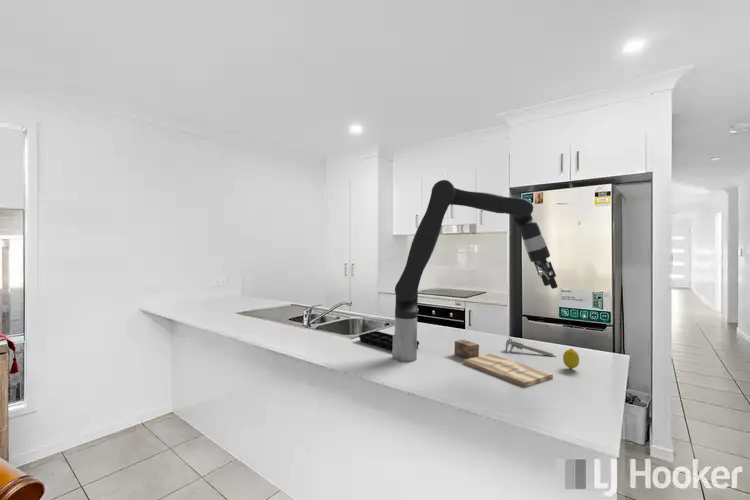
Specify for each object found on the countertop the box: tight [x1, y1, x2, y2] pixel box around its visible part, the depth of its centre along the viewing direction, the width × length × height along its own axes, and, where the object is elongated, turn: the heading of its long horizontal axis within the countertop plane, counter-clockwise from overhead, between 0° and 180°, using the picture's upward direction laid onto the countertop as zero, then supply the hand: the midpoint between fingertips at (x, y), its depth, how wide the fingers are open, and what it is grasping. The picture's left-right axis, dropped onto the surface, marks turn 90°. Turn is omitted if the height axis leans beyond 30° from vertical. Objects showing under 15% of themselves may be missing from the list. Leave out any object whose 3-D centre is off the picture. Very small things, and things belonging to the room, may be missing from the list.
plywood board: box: [462, 353, 554, 388], centre depth 140 cm, size 16×28×2 cm, turn 32°
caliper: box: [505, 337, 557, 358], centre depth 163 cm, size 20×1×6 cm, turn 65°
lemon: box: [562, 348, 580, 370], centre depth 142 cm, size 6×6×8 cm
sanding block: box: [454, 339, 480, 360], centre depth 157 cm, size 9×5×6 cm, turn 33°
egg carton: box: [358, 330, 420, 352], centre depth 173 cm, size 18×30×4 cm, turn 58°
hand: (551, 286), depth 146 cm, fingers open, 8 cm apart
